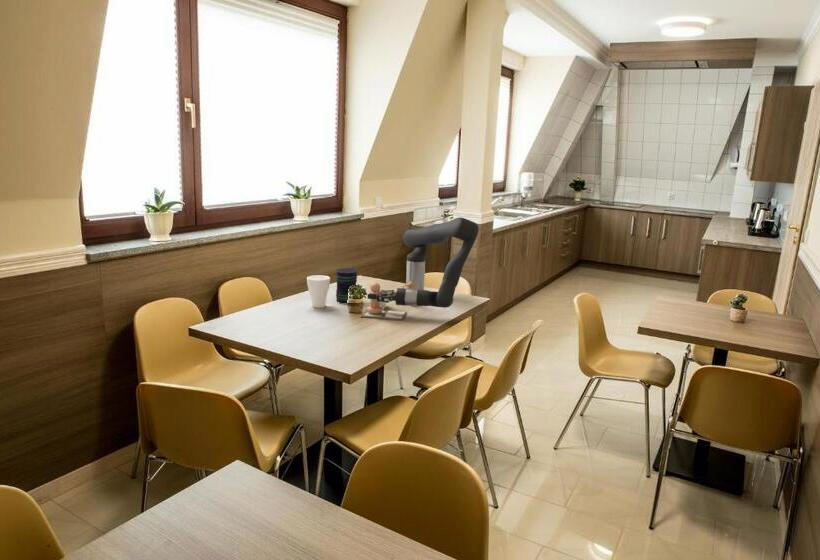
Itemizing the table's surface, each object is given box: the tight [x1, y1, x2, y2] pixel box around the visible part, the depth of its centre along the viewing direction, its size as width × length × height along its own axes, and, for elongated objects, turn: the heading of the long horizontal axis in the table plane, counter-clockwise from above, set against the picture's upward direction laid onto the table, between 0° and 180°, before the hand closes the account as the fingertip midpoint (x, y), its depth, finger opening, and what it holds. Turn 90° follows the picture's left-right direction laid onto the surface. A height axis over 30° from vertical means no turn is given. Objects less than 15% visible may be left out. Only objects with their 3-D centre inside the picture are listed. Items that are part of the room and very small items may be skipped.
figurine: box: [402, 281, 419, 290], centre depth 278 cm, size 8×6×12 cm
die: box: [369, 297, 387, 310], centre depth 274 cm, size 6×6×6 cm
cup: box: [306, 274, 331, 309], centre depth 272 cm, size 10×10×14 cm
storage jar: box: [335, 268, 358, 304], centre depth 282 cm, size 10×10×15 cm
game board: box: [360, 308, 407, 321], centre depth 262 cm, size 12×18×1 cm, turn 81°
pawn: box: [367, 282, 383, 314], centre depth 261 cm, size 6×6×13 cm
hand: (369, 294), depth 261 cm, fingers closed on pawn, 4 cm apart
